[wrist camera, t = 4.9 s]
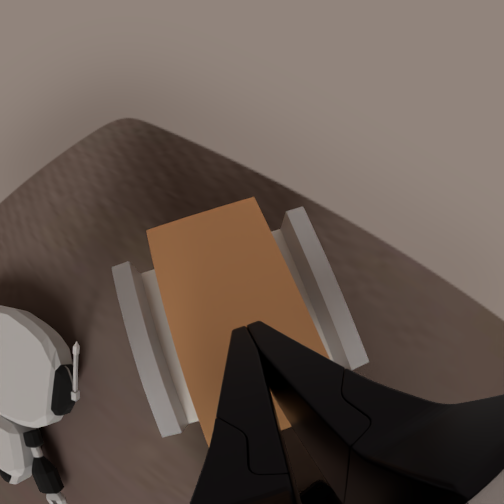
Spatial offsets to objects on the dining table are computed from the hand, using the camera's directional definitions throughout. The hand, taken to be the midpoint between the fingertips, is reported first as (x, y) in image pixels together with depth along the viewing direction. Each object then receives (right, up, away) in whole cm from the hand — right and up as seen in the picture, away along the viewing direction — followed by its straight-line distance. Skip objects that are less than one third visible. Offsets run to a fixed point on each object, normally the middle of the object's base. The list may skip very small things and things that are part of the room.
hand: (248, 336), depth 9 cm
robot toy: (-18, -10, +9) cm, 22 cm away
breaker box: (-1, -3, +12) cm, 12 cm away
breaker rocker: (0, 0, +3) cm, 3 cm away
